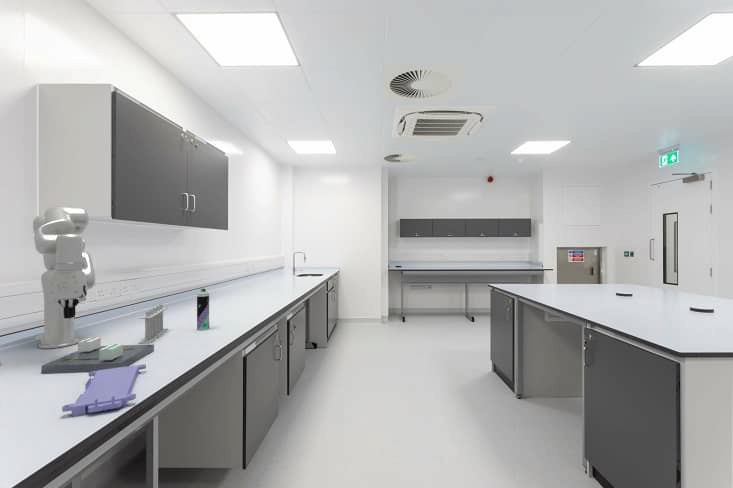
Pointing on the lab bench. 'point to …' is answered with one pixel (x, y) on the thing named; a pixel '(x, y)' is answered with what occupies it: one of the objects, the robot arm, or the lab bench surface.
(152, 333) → the test tube rack
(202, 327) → the spray can
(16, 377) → the lab bench surface
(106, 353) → the fader green
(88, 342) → the block
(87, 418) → the lab bench surface
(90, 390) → the computer part
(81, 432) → the lab bench surface
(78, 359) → the dark grey flat board
